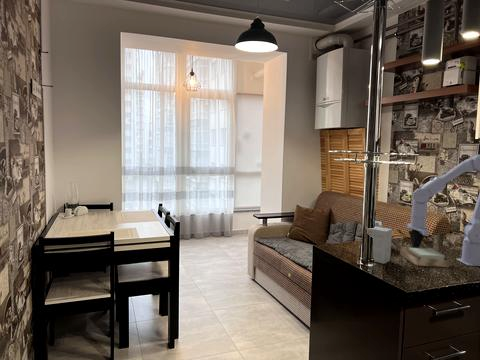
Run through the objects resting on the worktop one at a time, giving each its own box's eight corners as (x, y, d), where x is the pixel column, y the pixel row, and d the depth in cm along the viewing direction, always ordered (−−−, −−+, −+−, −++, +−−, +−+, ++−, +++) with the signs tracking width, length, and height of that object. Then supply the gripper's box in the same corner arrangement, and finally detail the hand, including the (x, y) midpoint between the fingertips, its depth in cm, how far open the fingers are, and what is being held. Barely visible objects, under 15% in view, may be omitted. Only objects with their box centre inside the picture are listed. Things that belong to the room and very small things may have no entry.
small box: (390, 261, 144) (392, 229, 143) (383, 264, 140) (386, 231, 138) (370, 256, 150) (373, 225, 149) (363, 259, 145) (366, 227, 144)
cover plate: (430, 252, 151) (430, 248, 151) (444, 259, 141) (444, 255, 141) (408, 251, 151) (408, 247, 151) (420, 258, 141) (420, 254, 141)
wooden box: (430, 255, 154) (431, 247, 154) (449, 266, 140) (450, 258, 140) (400, 254, 154) (401, 246, 154) (416, 265, 140) (417, 256, 140)
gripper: (401, 213, 160) (398, 243, 161) (417, 219, 145) (414, 252, 147) (417, 213, 160) (414, 243, 161) (435, 220, 145) (431, 253, 147)
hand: (415, 248), depth 154 cm, fingers closed
